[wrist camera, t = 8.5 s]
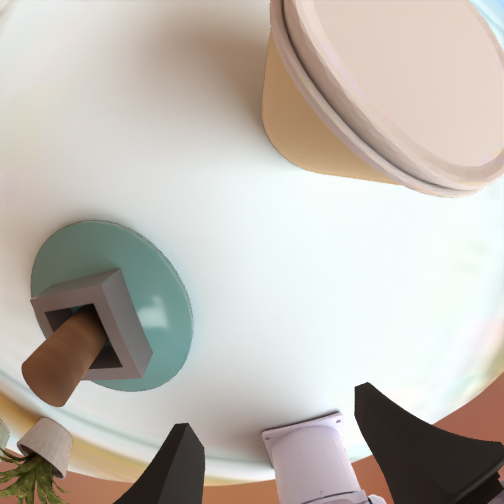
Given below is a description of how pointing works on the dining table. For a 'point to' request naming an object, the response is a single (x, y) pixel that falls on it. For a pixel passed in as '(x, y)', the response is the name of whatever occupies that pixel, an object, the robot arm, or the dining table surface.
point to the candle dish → (116, 301)
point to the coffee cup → (387, 92)
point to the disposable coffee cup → (3, 437)
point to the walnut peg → (65, 356)
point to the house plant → (39, 462)
